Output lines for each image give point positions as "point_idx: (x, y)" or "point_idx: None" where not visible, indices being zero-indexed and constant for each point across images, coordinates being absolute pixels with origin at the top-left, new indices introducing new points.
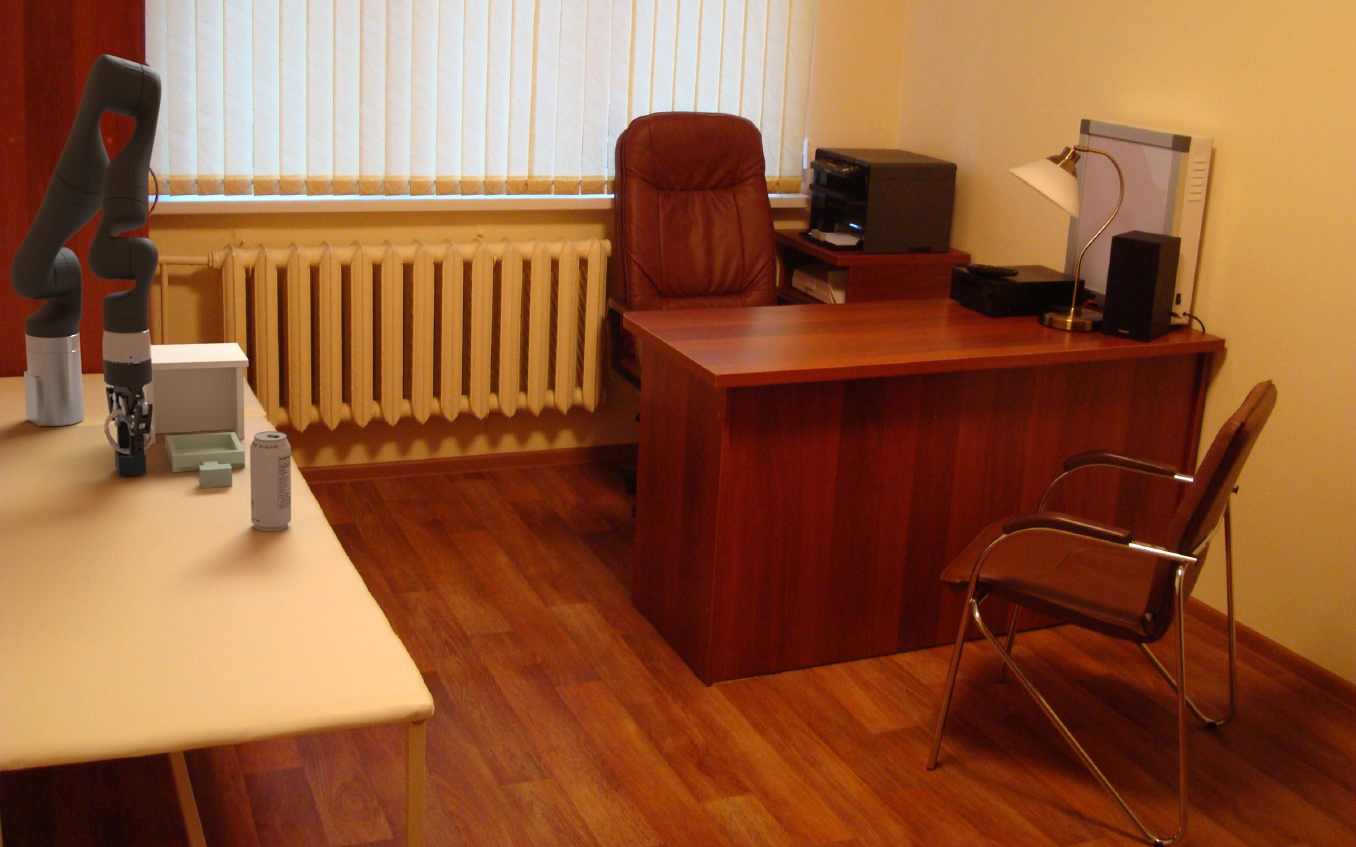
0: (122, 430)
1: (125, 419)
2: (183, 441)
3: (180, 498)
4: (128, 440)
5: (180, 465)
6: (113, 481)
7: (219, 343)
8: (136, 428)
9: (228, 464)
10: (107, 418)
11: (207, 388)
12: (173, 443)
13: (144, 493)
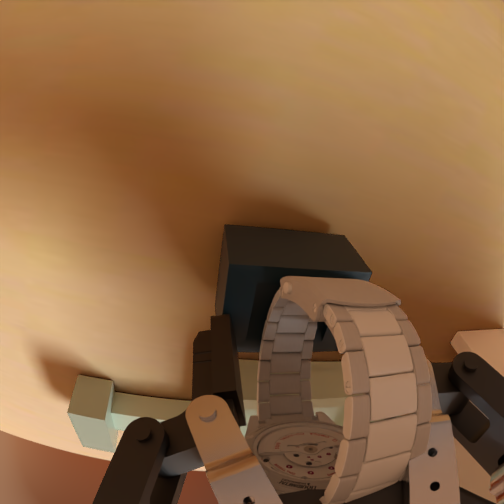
0: None
1: (228, 480)
2: None
3: (16, 322)
4: None
5: None
6: (205, 194)
7: None
8: (112, 460)
9: (108, 450)
10: (409, 385)
11: (469, 468)
12: (342, 405)
13: (54, 259)
